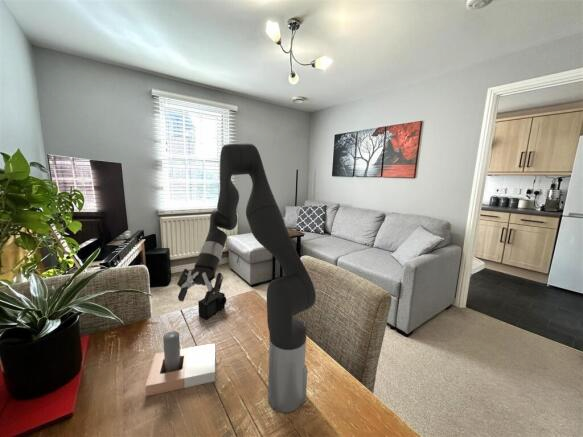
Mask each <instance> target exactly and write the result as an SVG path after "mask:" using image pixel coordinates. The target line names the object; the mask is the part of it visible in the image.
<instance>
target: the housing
mask: <svg viewBox="0 0 583 437" xmlns="http://www.w3.org/2000/svg"><path fill="white" fill-rule="evenodd" d="M215 352H216V349H215V343H210V344H204V345H203V344H202V345H196V346H191V347H185V348H180V362H181V366H182V368H181V370H178V371H173V372H168V373H165V372H164V371H165V359H164V351H162V352H156V353H154V357H153V360H152V363H151V366H150V369H149V372H148V376H147V380H146V383H145V396H146V397H149V396H153V395H159V394H162V393H167V392H172V391H177V390H181V389H185V388H190V387H195V386H199V385H204V384H208V383H213V382H216V354H215Z"/></svg>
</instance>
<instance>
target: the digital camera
mask: <svg viewBox="0 0 583 437" xmlns="http://www.w3.org/2000/svg"><path fill="white" fill-rule="evenodd" d="M203 301H204V298H202V299H200V300H198V302H197V304H198V307H197V308H198V318H200V317H201V319H202V320H204V321H207V320H209V319H210V318H212V317H213V315H214V316H215V315H217V314H219V313H220V312H221V310H222V309H223V310H225V309H226V304H227V298H226V294H225V293H224V292H222V291H219V292H215V293H213V294H212V297H211V300H210V302H209V303H208V304H207V305H205V304H203ZM224 308H225V309H224ZM223 310H222V311H223ZM219 311H220V312H219ZM216 313H217V314H216Z"/></svg>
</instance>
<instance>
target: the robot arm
mask: <svg viewBox="0 0 583 437" xmlns="http://www.w3.org/2000/svg"><path fill="white" fill-rule="evenodd" d="M238 175H241V176H242V175H243V176H244V175H249V177H250V179H251V182H252V188H251V192H250V194H249V197H248V201H247V204H246V208H245V215H246V216H245V217H246V219H247V220H246V221H247V222H248V226H249V228H250V231H251V234H252V236H253V237H254V239H255V240H256V241H257V242H258V243H259V244H260V245H261V246H263V248H264V249H266V250H267V251H268V252H269V253H270V254H271V255H272V256H273V257H274V258H275V259H276V260H277V261H278V263H279V265H280V267H281V269H282V271H283V273H284V276H281V277H277V278H275V279H272V280H271V281H270V282H269V283H268V286H267V289H266V319H267V321H266V323H267V327H268V332H269V334H268V335H269V338H268V339H269V341H268V342H269V344H268V345H269V346H268V347H269V348H268V378H267V379H268V381H267V382H268V384H267V386H268V387H267V399H268V403H269V404H270V406H271V407H272V408H273V409H274V410H276V411H277V412H280V413H292V412H294V411H297V409H299V408H300V406H301V405H302V404H304V403H305V402H307V387H308V386H307V385H308V368H307V365H306V363H305V362H306V347H307V346H306V345H307V328H306V326H305V323H303V322H302V321H300V320H299V319H296V318H293V317H294V316H295V315H298V314H300V313H302V312H304V311H307V310H309V309H311V308H312V307H313V306H314V304H315V303H316V300H317V299H316V298H317V297H316V296H317V294H316V289H315V287H314V286H315V285H314V284H313V280H312V279H311V276H310V275H309V272H308V271H307V269H306V267H305V265H304V263H303V261H302V259H301V257H300V256H299V254H298V251H297V249H296V247H295V244H294V242H293V240H292V238H291V236H290V234H289V231H288V229H287V227H286V223H285V220H284V217H283V215H282V213H281V211H280V208H279V206H278V203H277V201H276V199H275V196H274V194H273V191H272V189H271V186H270V184H269V180H268V177H267V174H266V171H265V167H264V165H263V161H262V158H261V154H260V152H259V150H258V148H257V146H256V145H255V144H253V143H246V142H245V143H244V142H241V143H239V142H236V143H235V142H232V143H230V142H229V143H226V144H225V143H224V144H223V145H222V147H221V150H220V155H219V194H218V201H217V204H216V205H217V206H216V208H214V209H213V210H212V211H211V213H210V216H209V228H208V229H209V230H208V233H207V236H206V238H205V241H204V243H203V245H202V247H201V249H200V251H199V254H198V256H197V258H196V261H195V263H194V268H193V269H192V270H189V269H187V268H184V269H183V271H182V273H181V275H180V278H179V280H178V282H177V283H176V285H177V286H178V287H179V288H180V291H179V294H178V295H177V299H178V301H179V302H184V301H185V298H186V296H187V293H188V290H189V289H190V288H192V287H194V286H195V285H196V286H200V285H201V286H206V289H207V291H206V292H205V295H204V298H203V299H204V301H203V304H205V305H207V304H208V303H209V302H210V300H211V297H212V294H213V293H215V292H221V287H222V283H223V279H224V275H223V274H222V273H221V272H218V273H216V272H217V270H218V267H219V265H220V263H221V259H222V255H223V251H224V248H225V244H226V242H227V238H228V235H227V234H226V232H225V231H224V230H226V231H232V230H234V229H235V228H237V226H238V214H237V209H238V205H239V203H240V202H239V200H240V193H239V191H238V189H237V187H236V185H235V184H234V183H233V181H232V178H233V176H238ZM221 229H223V230H221ZM214 279H215V282H214V285H213V283H212V281H213V280H214ZM213 286H214V287H213Z"/></svg>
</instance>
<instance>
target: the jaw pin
mask: <svg viewBox="0 0 583 437" xmlns="http://www.w3.org/2000/svg"><path fill="white" fill-rule="evenodd" d="M162 339H163V340H162V341H163V352H164V359H165V368H164V371H165V372H164V373H168V372H173V371H178V370H182V368H181V367H182V365H181V362H180V349H181V345H180V332H178V331H175V330H174V331H172V330H171V331H169V332H166V333H165V334H164V335H163V338H162Z"/></svg>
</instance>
